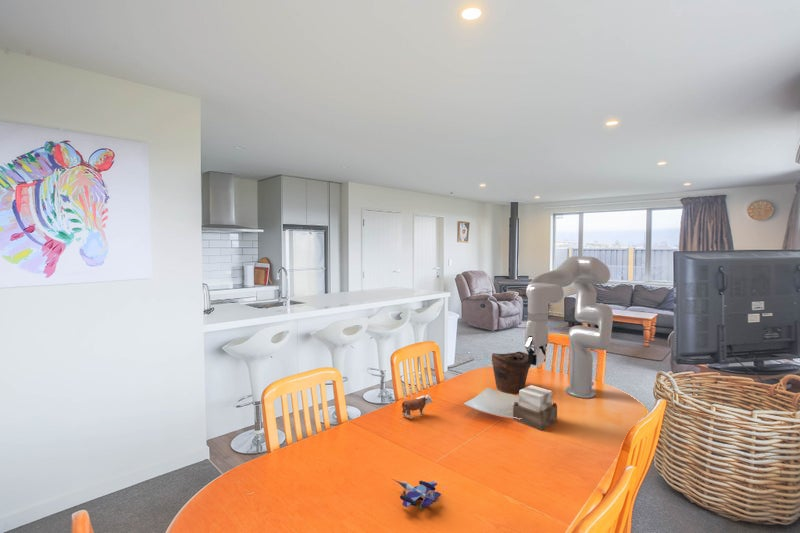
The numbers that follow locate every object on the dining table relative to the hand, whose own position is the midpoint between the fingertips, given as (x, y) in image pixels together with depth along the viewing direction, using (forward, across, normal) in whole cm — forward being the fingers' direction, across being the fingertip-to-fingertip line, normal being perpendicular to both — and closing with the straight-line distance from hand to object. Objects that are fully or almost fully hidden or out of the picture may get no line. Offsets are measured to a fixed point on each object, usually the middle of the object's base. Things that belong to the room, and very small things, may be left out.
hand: (536, 362), depth 156 cm
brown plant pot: (+24, -23, -26) cm, 42 cm away
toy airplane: (+23, +69, +4) cm, 73 cm away
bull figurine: (+24, +32, -34) cm, 53 cm away
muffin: (+1, 0, 0) cm, 1 cm away
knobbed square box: (+23, 0, 0) cm, 23 cm away
